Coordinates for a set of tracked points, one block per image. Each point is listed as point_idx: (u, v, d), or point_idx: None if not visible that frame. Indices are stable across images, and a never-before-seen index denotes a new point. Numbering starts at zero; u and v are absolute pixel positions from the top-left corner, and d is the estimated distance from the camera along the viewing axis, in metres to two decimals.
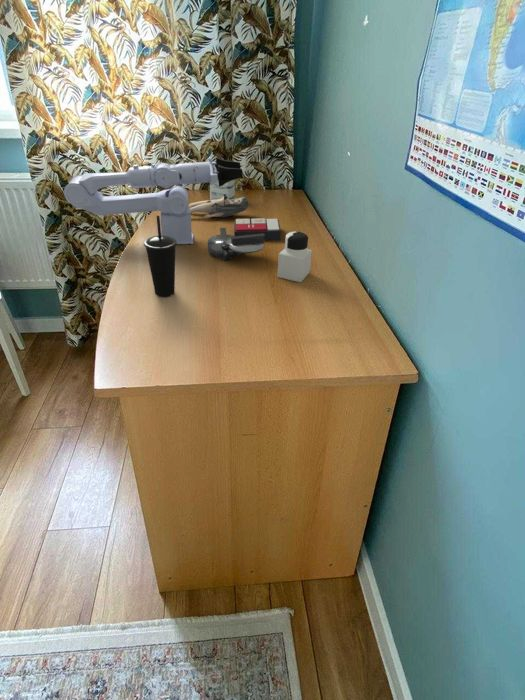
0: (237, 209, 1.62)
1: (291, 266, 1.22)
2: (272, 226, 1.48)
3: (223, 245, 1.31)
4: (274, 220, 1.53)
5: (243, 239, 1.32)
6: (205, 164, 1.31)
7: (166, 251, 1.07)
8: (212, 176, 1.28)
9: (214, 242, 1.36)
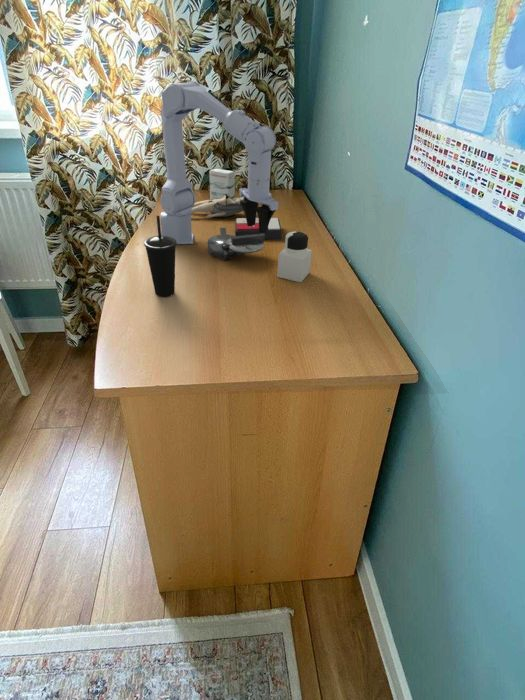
0: (239, 208, 1.62)
1: (291, 266, 1.22)
2: (273, 225, 1.49)
3: (223, 245, 1.31)
4: (274, 219, 1.53)
5: (243, 239, 1.32)
6: None
7: (166, 251, 1.07)
8: (277, 204, 1.18)
9: (214, 242, 1.36)
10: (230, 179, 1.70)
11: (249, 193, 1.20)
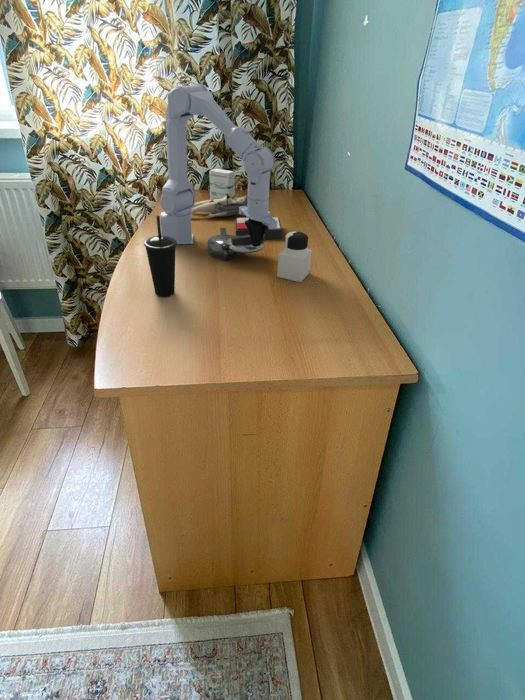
0: None
1: (291, 266, 1.22)
2: None
3: (223, 245, 1.31)
4: (275, 219, 1.54)
5: (243, 239, 1.32)
6: None
7: (166, 251, 1.07)
8: (276, 223, 1.21)
9: (214, 242, 1.36)
10: (230, 179, 1.70)
11: (248, 212, 1.23)
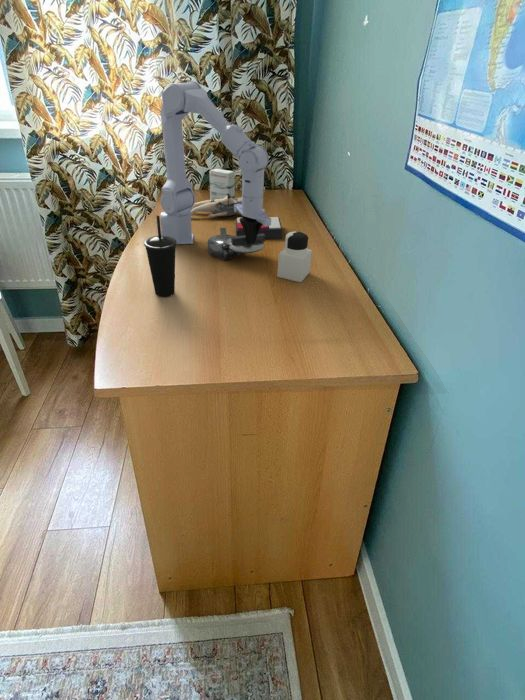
0: None
1: (291, 266, 1.22)
2: (273, 224, 1.50)
3: (223, 245, 1.31)
4: (275, 218, 1.54)
5: (243, 239, 1.32)
6: None
7: (166, 251, 1.07)
8: (270, 220, 1.22)
9: (214, 242, 1.36)
10: (230, 179, 1.70)
11: (243, 209, 1.24)
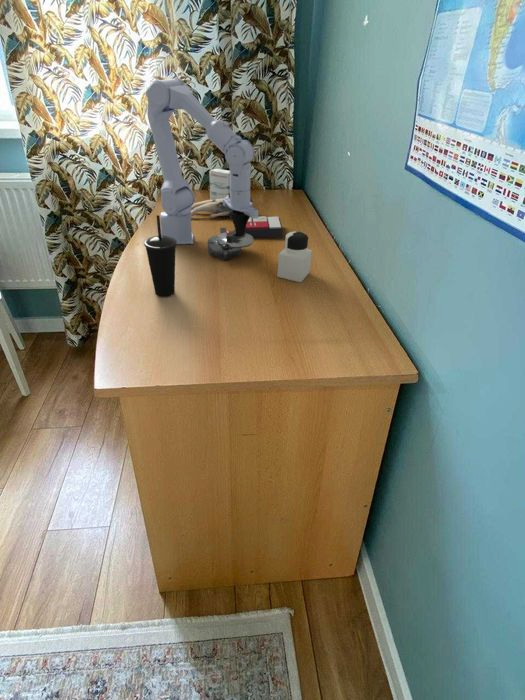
0: None
1: (291, 266, 1.22)
2: (274, 224, 1.50)
3: (224, 245, 1.31)
4: (275, 218, 1.54)
5: (236, 235, 1.34)
6: None
7: (166, 251, 1.07)
8: (257, 212, 1.25)
9: (214, 242, 1.36)
10: None
11: (231, 203, 1.28)
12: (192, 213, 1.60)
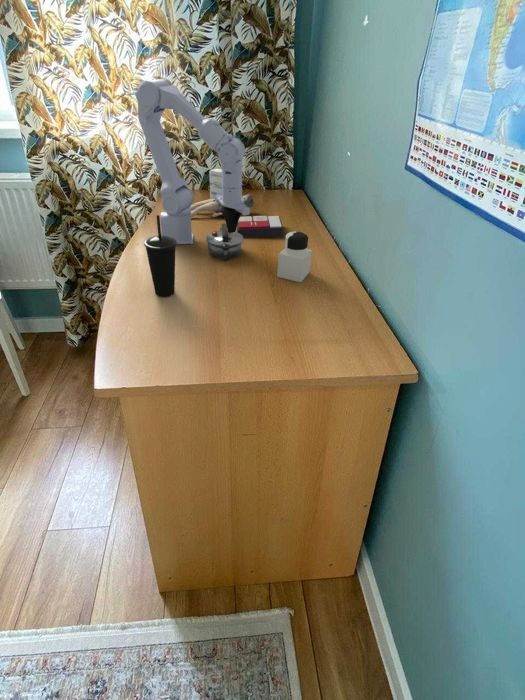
0: None
1: (291, 266, 1.22)
2: (274, 223, 1.50)
3: (225, 246, 1.31)
4: (276, 217, 1.55)
5: (227, 233, 1.35)
6: None
7: (166, 251, 1.07)
8: (248, 209, 1.28)
9: None
10: None
11: (223, 199, 1.30)
12: (194, 213, 1.60)
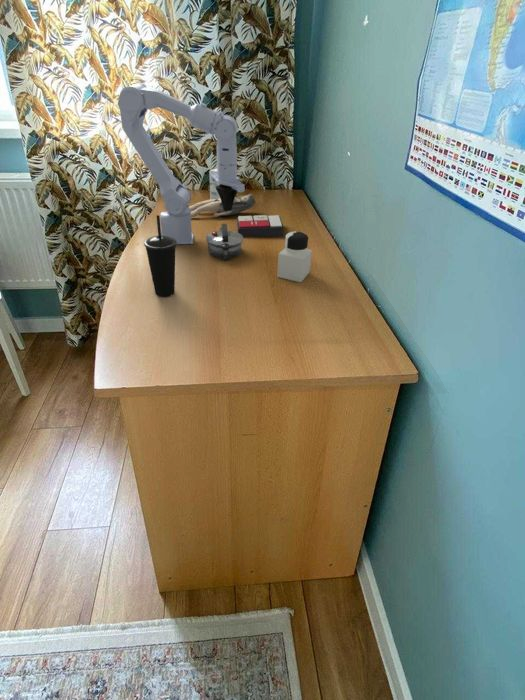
0: (244, 207, 1.64)
1: (291, 266, 1.22)
2: (275, 223, 1.51)
3: (225, 246, 1.31)
4: (276, 217, 1.55)
5: (227, 233, 1.35)
6: (236, 175, 1.33)
7: (166, 251, 1.07)
8: (243, 186, 1.29)
9: None
10: None
11: (218, 177, 1.31)
12: (195, 213, 1.60)
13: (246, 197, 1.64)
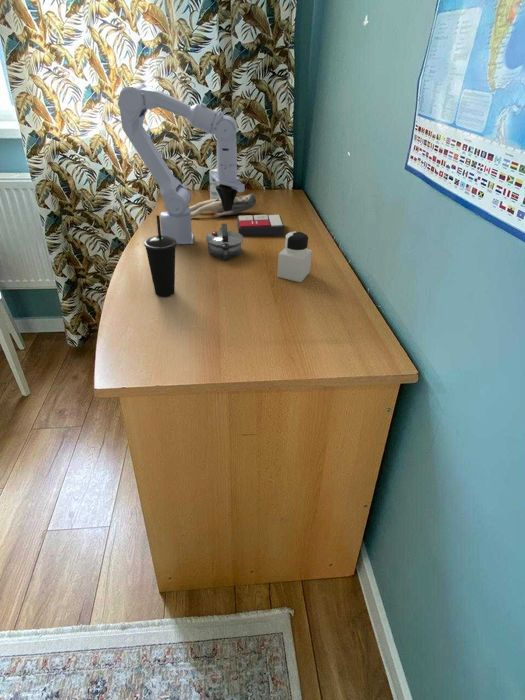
0: (245, 206, 1.64)
1: (291, 266, 1.22)
2: (275, 222, 1.51)
3: (225, 246, 1.31)
4: (276, 216, 1.56)
5: (227, 233, 1.35)
6: (236, 175, 1.33)
7: (166, 251, 1.07)
8: (243, 186, 1.29)
9: None
10: None
11: (218, 177, 1.31)
12: (197, 213, 1.60)
13: (247, 197, 1.64)
